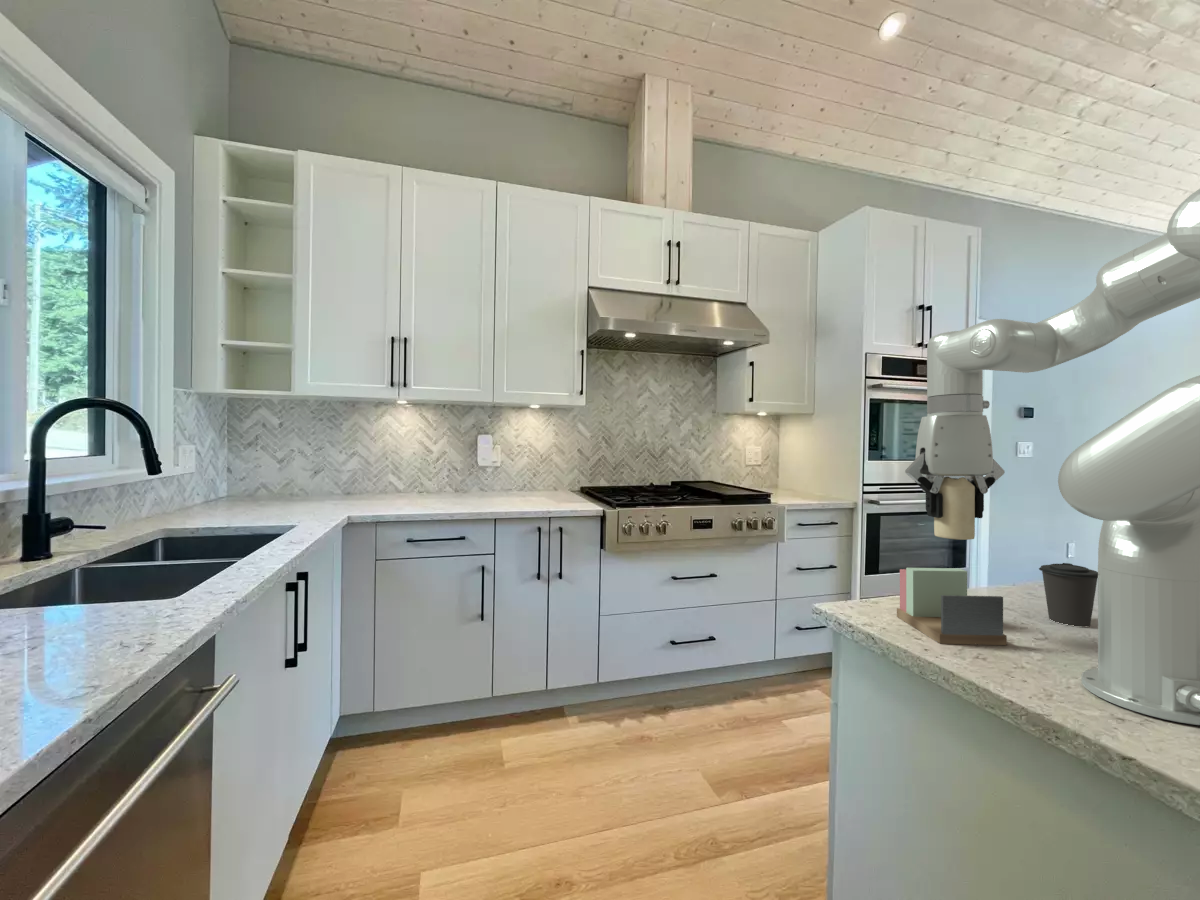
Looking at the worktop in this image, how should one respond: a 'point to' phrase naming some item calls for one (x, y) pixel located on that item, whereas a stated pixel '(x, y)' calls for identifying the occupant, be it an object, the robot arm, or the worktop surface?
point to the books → (929, 589)
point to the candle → (956, 510)
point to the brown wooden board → (933, 630)
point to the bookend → (972, 615)
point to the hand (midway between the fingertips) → (954, 515)
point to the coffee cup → (1069, 593)
